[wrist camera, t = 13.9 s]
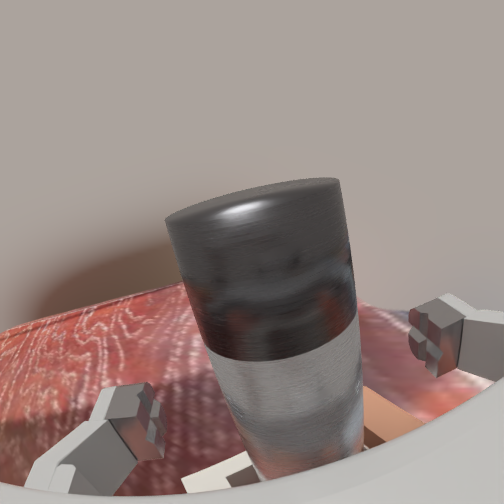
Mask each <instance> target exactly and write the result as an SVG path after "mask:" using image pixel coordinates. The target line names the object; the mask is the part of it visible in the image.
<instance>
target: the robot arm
mask: <svg viewBox="0 0 504 504" xmlns="http://www.w3.org/2000/svg"><path fill="white" fill-rule="evenodd" d="M409 323H410V324H411V325H412V328H411V330H410V332H409V345H410V349H411V351H412V353H413V354H414V356H415V357H416V358H417V359H418V360H422V361H426V363H425V367H426V368H427V369H428V370H429V371H430V372H431V373H432V374H433V375H434V376H435V377H436V378H437V377H439V376H442V375H444V374H446V373H448V372H450V371H452V370H454V369H456V368H457V369H459V370H462V371H465V372H468V373H471V374H474V375H477V376H480V377H483V378H486V379H489V380H492V381H495V383H494V384H492V385H491V386H489V387H488V388H486V389H485V390H483V391H482V392H480V393H479V394H477V395H475V396H474V397H472V398H471V399H469V400H467V401H466V402H464V403H462V404H461V405H459V406H457V407H456V408H454V409H452V410H450V411H449V412H447V413H445V414H443V415H441V416H439V417H438V418H436V419H434V420H432V421H430V422H428V423H426V424H424V425H422V426H420V427H418V428H416V429H414V430H412V431H410V432H408V433H406V434H404V435H401V436H399V437H397V438H395V439H392V440H390V441H388V442H386V443H383V444H381V445H378V446H376V447H373V448H371V449H369V450H366V451H363V452H361V453H358V454H355V455H353V456H350V457H347V458H344V459H342V460H339V461H336V462H333V463H330V464H327V465H324V466H320V467H317V468H314V469H310V470H307V471H303V472H300V473H296V474H292V475H289V476H285V477H281V478H277V479H272V480H268V481H263V482H259V483H254V484H249V485H244V486H238V487H232V488H226V489H220V490H213V491H205V492H197V493H187V494H176V495H161V496H112V495H113V494H114V493H115V492H116V490H117V489H118V488H119V486H120V485H121V484H122V483H123V481H124V480H125V479H126V477H127V476H128V475H129V473H130V472H131V471H132V469H133V468H134V467H135V466H136V464H137V463H138V461H142V460H151V459H160V458H164V449H165V441H164V439H163V437H162V436H163V435H164V434H165V433H166V432H167V420H166V415H165V412H164V409H163V407H162V405H161V403H159V402H158V401H156V400H155V399H154V395H155V392H154V390H153V388H152V386H151V384H149V383H148V382H144V383H137V384H129V385H121V386H114V387H107V388H104V389H102V390H101V392H100V395H99V397H98V400H97V402H96V404H95V407H94V409H93V412H92V414H91V417H90V419H89V421H85V422H83V423H82V424H81V425H80V426H78V427H77V428H76V429H75V430H73V431H72V432H71V433H70V434H68V435H67V436H66V437H65V438H63V439H62V440H61V441H60V442H58V443H57V444H56V445H55V446H53V447H52V448H51V449H50V450H48V451H47V452H46V453H45V454H43V455H42V456H41V457H40V458H38V459H37V460H36V461H35V462H34V465H33V467H32V469H31V471H30V474H29V476H28V478H27V481H26V483H25V485H24V487H21V486H16V485H11V484H6V483H2V482H0V504H504V312H502V311H492V310H484V309H482V310H479V311H478V310H476V309H475V308H473V307H471V306H470V305H468V304H467V303H465V302H463V301H462V300H460V299H458V298H457V297H455V296H453V295H452V294H444V295H442V296H440V297H438V298H436V299H434V300H432V301H430V302H427V303H425V304H423V305H420V306H418V307H415V308H413V309H411V310H410V312H409Z"/></svg>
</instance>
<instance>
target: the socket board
mask: <svg viewBox="0 0 504 504" xmlns="http://www.w3.org/2000/svg"><path fill="white" fill-rule="evenodd" d="M363 408H364V451H366V450H369V449H371V448H373V447H376V446H378V445H381V444H383V443H386V442H388V441H390V440H392V439H395V438H397V437H399V436H401V435H404V434H406V433H408V432H410V431H412V430H414V429H416V428H418V427H420V426H422V425H424V424H425V423H423V422H422V421H420V420H418V419H417V418H415V417H414V416H412V415H410V414H409V413H407V412H405V411H404V410H402V409H401V408H399V407H397V406H396V405H394V404H393V403H391V402H389V401H388V400H386V399H385V398H383V397H382V396H380V395H378V394H377V393H375V392H374V391H372V390H371V389H369V388H368V387H366V386H364V387H363ZM181 480H182V482H183V484H184V487H185V489H186V491H187V493H197V492H205V491H213V490H220V489H226V488H232V487H238V486H244V485H249V484H254V483H259V482H260V480H259V478H258V476H257V474H256V471H255V469H254V467H253V465H252V463H251V460H250V458H249V456H248V453H247V451H245V452H243V453H240V454H238V455H236V456H234V457H232V458H230V459H227V460H225V461H223V462H221V463H218V464H216V465H214V466H211V467H209V468H207V469H204V470H202V471H199V472H197V473H194V474H192V475H189V476H186V477H184V478H181Z"/></svg>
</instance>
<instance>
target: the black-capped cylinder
mask: <svg viewBox="0 0 504 504" xmlns="http://www.w3.org/2000/svg"><path fill="white" fill-rule="evenodd" d="M165 222H166V226H167V229H168V233H169V236H170V240H171V243H172V246H173V250H174V253H175V256H176V260H177V263H178V266H179V270H180V273H181V276H182V279H183V282H184V286H185V289H186V292H187V295H188V298H189V301H190V304H191V307H192V310H193V313H194V316H195V319H196V322H197V325H198V328H199V330H200V333H201V336H202V339H203V342H204V345H205V347H206V350H207V353H208V356H209V358H210V361H211V364H212V367H213V369H214V372H215V375H216V377H217V380H218V383H219V385H220V388H221V390H222V393H223V395H224V398H225V400H226V403H227V406H228V408H229V411H230V413H231V415H232V418H233V420H234V423H235V425H236V428H237V430H238V432H239V435H240V437H241V440H242V442H243V444H244V447H245V449H246V451H247V453H248V456H249V458H250V460H251V463H252V465H253V467H254V469H255V471H256V474H257V476H258V478H259V480H260V482H263V481H268V480H272V479H277V478H281V477H285V476H289V475H292V474H296V473H300V472H303V471H307V470H310V469H314V468H317V467H320V466H324V465H327V464H330V463H333V462H336V461H339V460H342V459H344V458H347V457H350V456H353V455H355V454H358V453H361V452H363V451H364V408H363V379H362V360H361V345H360V331H359V320H358V309H357V299H356V290H355V281H354V273H353V265H352V257H351V250H350V243H349V237H348V229H347V224H346V217H345V211H344V205H343V199H342V193H341V188H340V182H339V179H336V178H309V179H300V180H293V181H287V182H281V183H275V184H270V185H265V186H260V187H255V188H251V189H246V190H242V191H238V192H235V193H231V194H227V195H223V196H220V197H217V198H213V199H210V200H207V201H204V202H201V203H198V204H195V205H192V206H190V207H187V208H185V209H182V210H180V211H177V212H175V213H173V214H172V215H170V216H168V217H167V218H166V219H165Z"/></svg>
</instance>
